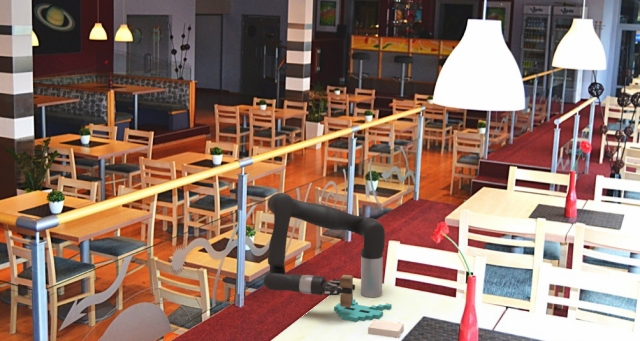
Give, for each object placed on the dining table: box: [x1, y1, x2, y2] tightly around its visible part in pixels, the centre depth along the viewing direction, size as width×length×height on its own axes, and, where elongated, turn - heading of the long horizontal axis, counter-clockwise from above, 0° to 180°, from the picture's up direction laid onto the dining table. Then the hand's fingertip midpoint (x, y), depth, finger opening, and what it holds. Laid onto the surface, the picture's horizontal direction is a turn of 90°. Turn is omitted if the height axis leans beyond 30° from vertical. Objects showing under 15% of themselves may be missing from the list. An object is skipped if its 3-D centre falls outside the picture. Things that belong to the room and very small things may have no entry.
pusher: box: [339, 274, 354, 307], centre depth 329 cm, size 4×4×12 cm
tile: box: [367, 319, 405, 338], centre depth 318 cm, size 8×3×12 cm
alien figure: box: [333, 297, 393, 323], centre depth 337 cm, size 20×2×20 cm
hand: (353, 289), depth 328 cm, fingers closed on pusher, 4 cm apart
